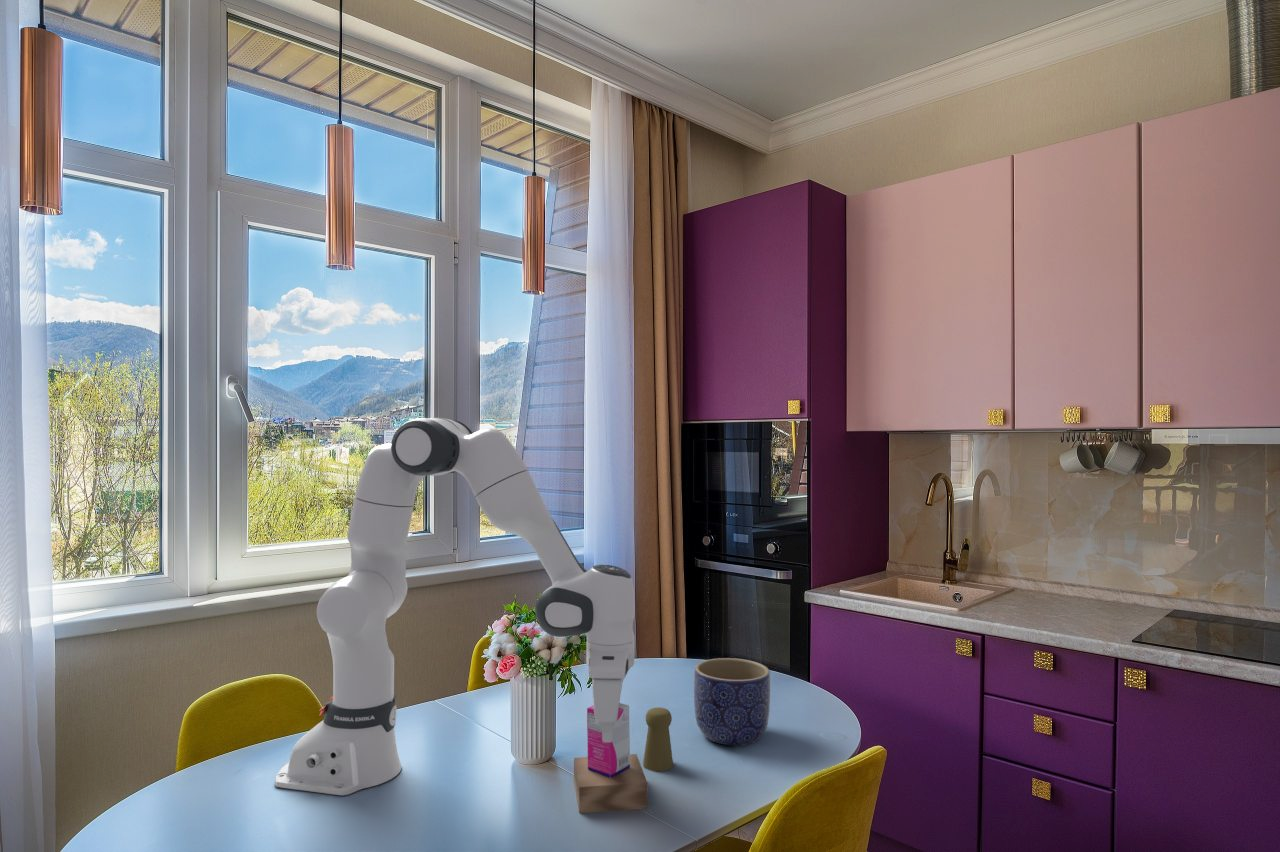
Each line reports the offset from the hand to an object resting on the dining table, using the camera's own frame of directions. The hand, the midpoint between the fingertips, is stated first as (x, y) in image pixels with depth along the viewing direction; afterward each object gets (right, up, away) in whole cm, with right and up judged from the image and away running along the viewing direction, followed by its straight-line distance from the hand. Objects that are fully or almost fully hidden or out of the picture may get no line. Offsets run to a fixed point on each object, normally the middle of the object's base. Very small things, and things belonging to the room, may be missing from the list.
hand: (609, 730), depth 139 cm
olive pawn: (+9, -12, +13) cm, 20 cm away
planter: (+26, -12, +27) cm, 39 cm away
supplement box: (0, -7, 0) cm, 7 cm away
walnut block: (0, -12, 0) cm, 12 cm away
